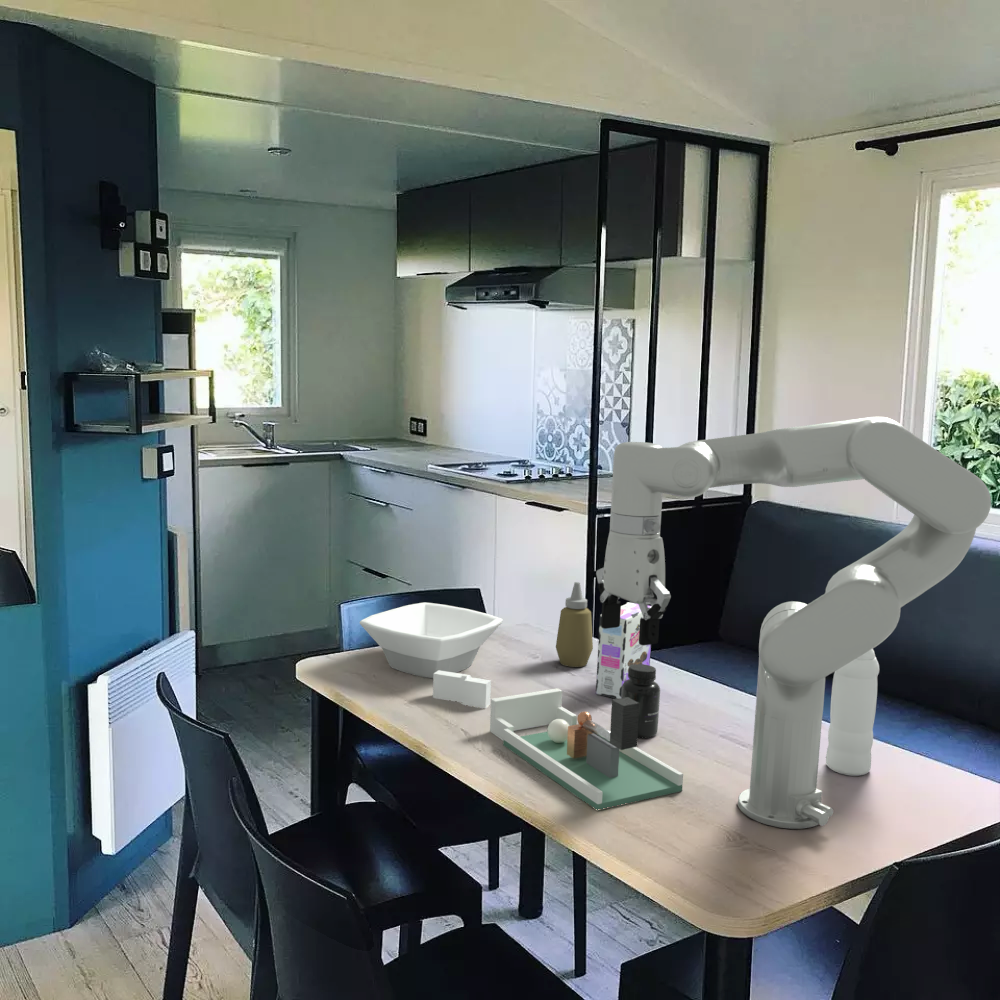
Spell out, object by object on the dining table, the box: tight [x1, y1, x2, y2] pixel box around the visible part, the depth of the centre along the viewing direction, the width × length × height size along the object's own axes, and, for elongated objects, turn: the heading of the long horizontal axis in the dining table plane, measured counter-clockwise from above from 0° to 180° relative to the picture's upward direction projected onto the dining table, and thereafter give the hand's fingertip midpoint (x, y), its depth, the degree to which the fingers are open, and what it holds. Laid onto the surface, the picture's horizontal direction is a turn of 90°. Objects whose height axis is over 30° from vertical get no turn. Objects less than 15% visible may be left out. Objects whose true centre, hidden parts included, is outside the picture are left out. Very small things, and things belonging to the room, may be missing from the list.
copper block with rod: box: [567, 697, 639, 759], centre depth 163 cm, size 13×5×12 cm, turn 30°
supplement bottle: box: [621, 664, 661, 740], centre depth 182 cm, size 7×7×12 cm
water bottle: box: [825, 648, 880, 777], centre depth 168 cm, size 7×7×25 cm
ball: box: [546, 719, 570, 743], centre depth 174 cm, size 4×4×4 cm
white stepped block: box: [432, 670, 492, 709], centre depth 195 cm, size 15×11×6 cm
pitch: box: [489, 687, 684, 811], centre depth 169 cm, size 34×16×6 cm, turn 30°
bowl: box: [359, 602, 504, 679], centre depth 217 cm, size 24×25×10 cm
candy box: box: [595, 601, 652, 699], centre depth 206 cm, size 14×6×16 cm, turn 148°
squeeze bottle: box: [555, 581, 594, 668], centre depth 221 cm, size 8×8×18 cm
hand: (628, 635), depth 156 cm, fingers open, 9 cm apart
